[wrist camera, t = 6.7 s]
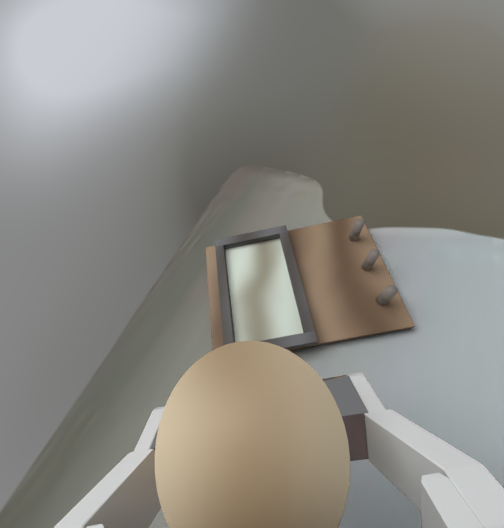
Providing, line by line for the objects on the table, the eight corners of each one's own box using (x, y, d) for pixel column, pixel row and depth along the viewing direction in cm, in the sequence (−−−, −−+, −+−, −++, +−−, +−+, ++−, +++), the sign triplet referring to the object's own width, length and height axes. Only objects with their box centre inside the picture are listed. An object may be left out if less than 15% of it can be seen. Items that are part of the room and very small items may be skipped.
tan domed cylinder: (304, 360, 13) (319, 322, 6) (329, 464, 11) (394, 580, 4) (224, 374, 14) (155, 353, 7) (232, 479, 11) (142, 613, 4)
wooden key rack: (359, 220, 31) (367, 198, 27) (410, 328, 24) (430, 317, 20) (208, 251, 32) (198, 234, 28) (215, 363, 25) (203, 358, 22)
